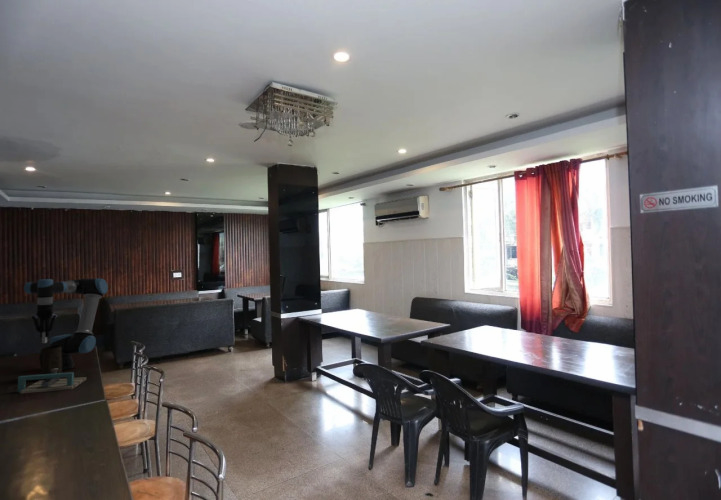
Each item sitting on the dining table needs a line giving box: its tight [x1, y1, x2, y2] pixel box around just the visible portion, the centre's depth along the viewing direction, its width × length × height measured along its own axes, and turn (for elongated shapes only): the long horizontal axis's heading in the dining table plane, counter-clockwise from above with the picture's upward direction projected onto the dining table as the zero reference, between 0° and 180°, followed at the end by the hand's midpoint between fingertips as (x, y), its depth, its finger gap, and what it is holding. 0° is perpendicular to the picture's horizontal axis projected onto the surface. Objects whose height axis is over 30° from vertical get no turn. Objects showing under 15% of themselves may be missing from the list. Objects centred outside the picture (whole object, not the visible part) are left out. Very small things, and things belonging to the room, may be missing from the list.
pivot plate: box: [19, 368, 87, 395], centre depth 234 cm, size 20×25×9 cm
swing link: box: [42, 378, 60, 388], centre depth 232 cm, size 15×4×3 cm, turn 17°
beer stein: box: [38, 346, 63, 381], centre depth 252 cm, size 15×11×20 cm
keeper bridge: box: [17, 371, 75, 393], centre depth 228 cm, size 2×26×8 cm, turn 105°
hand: (44, 342), depth 241 cm, fingers closed
